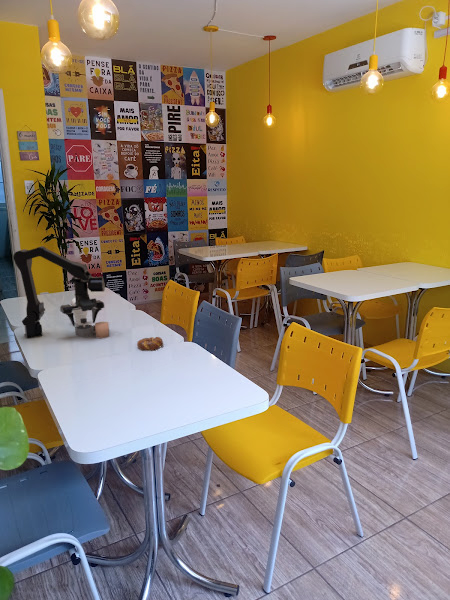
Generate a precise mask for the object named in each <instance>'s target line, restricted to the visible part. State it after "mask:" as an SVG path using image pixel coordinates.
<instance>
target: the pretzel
mask: <svg viewBox="0 0 450 600" xmlns="http://www.w3.org/2000/svg"><path fill="white" fill-rule="evenodd" d="M162 345H164V341H163V339H162V337H160V336H155V337H145V338H142V339H139V340H138V341H137V343H136V346H137V348H138V349H139V350H141V351H155V350H154V349H157V348H158V349H159V347H160V346H161V347H163V346H162ZM161 347H160V348H161ZM158 349H157V350H158Z"/></svg>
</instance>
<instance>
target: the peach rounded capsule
mask: <svg viewBox="0 0 450 600" xmlns="http://www.w3.org/2000/svg"><path fill="white" fill-rule="evenodd" d="M109 324H110V323H109V322H108V321H99V322H95V323H94V325H95V331H96V332H95V337H96V338H97V339H105V338H109V336H110V325H109Z"/></svg>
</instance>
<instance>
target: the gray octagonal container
mask: <svg viewBox="0 0 450 600" xmlns="http://www.w3.org/2000/svg"><path fill="white" fill-rule="evenodd" d="M74 330H75V331H74V333H75V336H76V337H77V338H88V337H91V336H93V335H95V333H96V331H95V324H94V325H92V324H85V329H83V325H77V326H75V327H74Z"/></svg>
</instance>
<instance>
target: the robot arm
mask: <svg viewBox="0 0 450 600" xmlns="http://www.w3.org/2000/svg"><path fill="white" fill-rule="evenodd" d="M12 256H13V261H14V263H15V266H16V267H17V268H18V270H19V271H20V276H21V281H22V284H23V288H24V289H23V290H24V294H25V297H26V301H27V302H26V308H25V310H26V316H25V317H24V318H23V319H22V320H21V322H22V325H23V327H24V336H25V338H27V339H30V338H36V337H37V338H38V337H42V336H43V325H42V324H41V322H40V321H41V318H42V317H43V316H44V315H45V311H46V308H45V303H44V302H43V301H40V300H39V298H38V294H37V289H36V285H35V280H34V277H33V271H32V267H33V266H32V265H33V259H34V258H38V257H41V258H43V259H45V260H47V261H48V262H50V263H53V264H55V265H57V266H58V267H60V268H62V269H64V270H65V271H66V272H68V274H70V275H71V276H72V278H70V280H69V281H68V283H70V284H71V283H72V284H73V287H74V298H75V300H76V302H75V305H76V306H72V305H71V304H69V303H68V304H62V305H61V306H60V308H59V311H60V312H61V313H62V314H65V315H66V316H67V317H68V318H69V320H70V322H71V325H72V326H73V327H74V328H75V327H76V324H75V316H74V312H73V310H77V309H82V311H87V312H88V311H91V315H92V316H91V317H92V318H91V319H92V323H93V324H95V323H96V319H97V316H98V314H99V312H100V311H102V310H103V309H104V308H105V303H104V302H103V301H101V300H99V299H98V300H97V299H96V298H90V294H89V291H90V292H93V293H94V292H97V293H98V292H103V293H104V292H105V290H106V283H105V279H104V276H93V274H91V273H90V271H89V270H88V266H87V265H86V264H84V263H81V262H78V261H73V260H70V259H67V258H66V257H64V256H62V255H61V254H58V253H56V252H54V251H52V250H50V249H48V248H47V247H46V246H43V245H41V246H38V247H36V248H32V249H29V250H28V249H25V248H24V249H20V250H17V251H16V252H14V254H13V255H12Z"/></svg>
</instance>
